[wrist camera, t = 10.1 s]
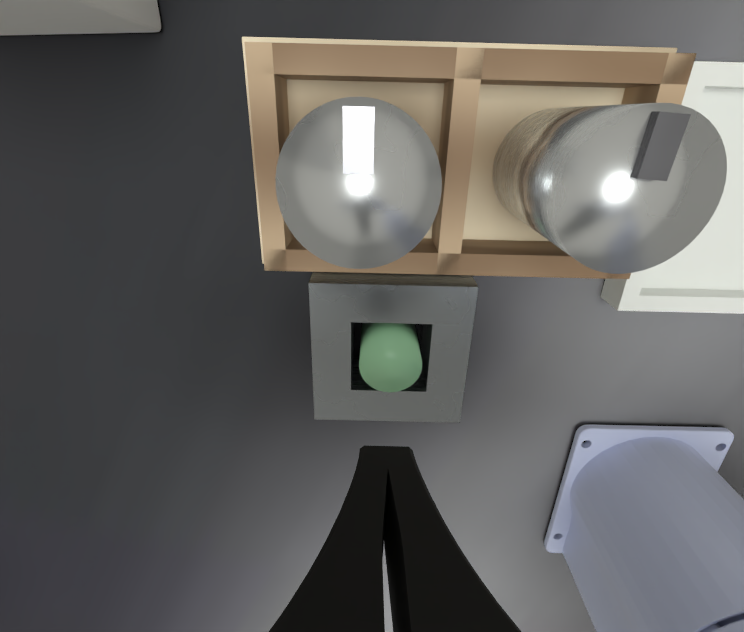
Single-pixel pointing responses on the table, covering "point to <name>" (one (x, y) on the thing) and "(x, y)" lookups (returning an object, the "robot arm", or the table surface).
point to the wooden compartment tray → (445, 131)
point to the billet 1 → (358, 182)
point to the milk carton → (78, 17)
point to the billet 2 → (613, 180)
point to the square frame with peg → (391, 305)
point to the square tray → (722, 233)
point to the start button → (389, 356)
